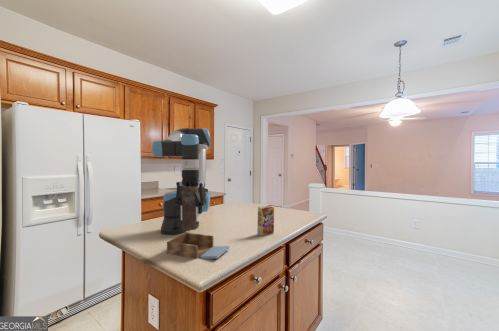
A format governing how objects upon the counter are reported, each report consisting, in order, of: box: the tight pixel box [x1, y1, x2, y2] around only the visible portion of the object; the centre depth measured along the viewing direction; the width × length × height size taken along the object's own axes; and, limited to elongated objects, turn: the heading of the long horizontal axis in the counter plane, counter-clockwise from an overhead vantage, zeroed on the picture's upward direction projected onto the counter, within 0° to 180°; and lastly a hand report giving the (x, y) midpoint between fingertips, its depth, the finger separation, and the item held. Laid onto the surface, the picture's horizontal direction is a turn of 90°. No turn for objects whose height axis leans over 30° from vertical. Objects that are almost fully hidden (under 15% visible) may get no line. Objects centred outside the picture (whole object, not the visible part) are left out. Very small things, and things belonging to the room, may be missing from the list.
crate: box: [166, 231, 214, 259], centre depth 104 cm, size 15×14×6 cm
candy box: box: [256, 205, 275, 237], centre depth 129 cm, size 9×4×15 cm, turn 123°
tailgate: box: [197, 245, 230, 260], centre depth 100 cm, size 1×12×9 cm
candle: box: [182, 185, 200, 232], centre depth 103 cm, size 8×7×20 cm
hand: (190, 220), depth 104 cm, fingers closed on candle, 7 cm apart
